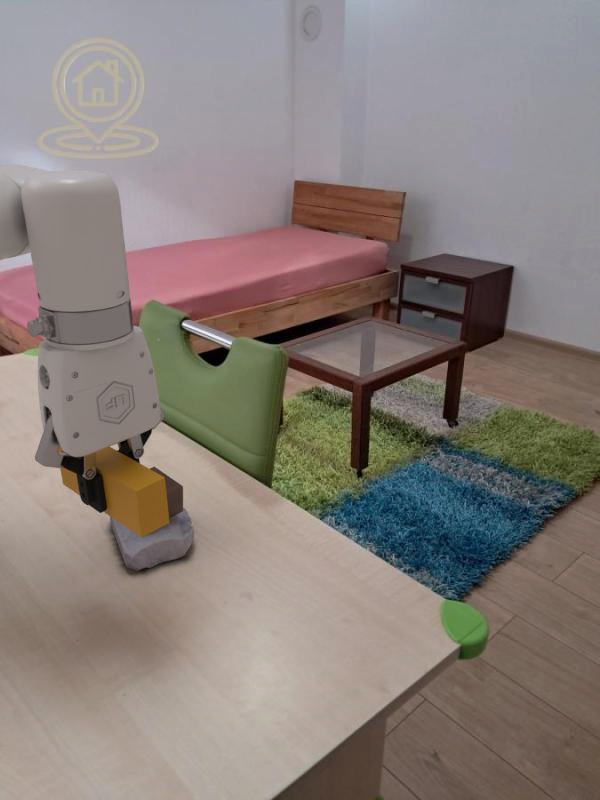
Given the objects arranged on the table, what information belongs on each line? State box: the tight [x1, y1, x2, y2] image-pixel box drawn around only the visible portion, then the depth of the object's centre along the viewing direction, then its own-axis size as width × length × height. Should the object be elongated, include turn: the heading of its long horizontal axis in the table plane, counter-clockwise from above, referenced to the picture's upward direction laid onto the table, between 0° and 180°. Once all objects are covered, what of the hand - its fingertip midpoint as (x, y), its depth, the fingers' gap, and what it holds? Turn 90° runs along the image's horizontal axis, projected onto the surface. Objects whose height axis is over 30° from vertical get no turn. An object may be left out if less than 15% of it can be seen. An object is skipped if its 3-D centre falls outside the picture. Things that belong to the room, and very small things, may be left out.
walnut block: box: [149, 466, 184, 519], centre depth 81 cm, size 6×6×4 cm
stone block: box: [109, 507, 195, 572], centre depth 83 cm, size 12×5×10 cm
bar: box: [58, 446, 169, 537], centre depth 62 cm, size 3×14×5 cm, turn 48°
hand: (112, 496), depth 63 cm, fingers closed on bar, 3 cm apart
